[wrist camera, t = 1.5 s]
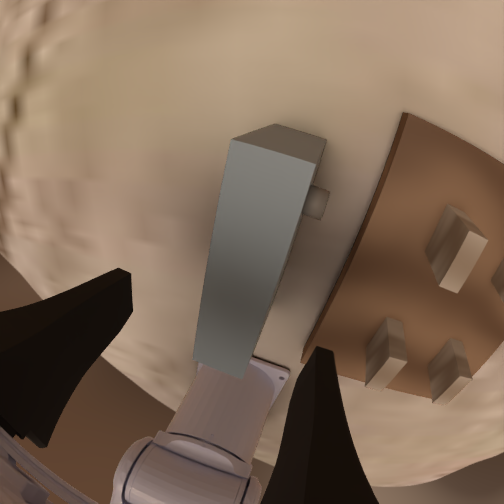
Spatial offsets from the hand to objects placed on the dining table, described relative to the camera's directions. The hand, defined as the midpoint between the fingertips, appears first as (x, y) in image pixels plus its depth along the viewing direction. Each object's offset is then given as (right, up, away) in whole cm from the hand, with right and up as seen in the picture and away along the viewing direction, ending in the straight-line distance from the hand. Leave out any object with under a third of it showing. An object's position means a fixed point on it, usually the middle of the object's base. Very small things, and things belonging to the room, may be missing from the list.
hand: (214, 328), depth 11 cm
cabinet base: (+14, 0, +6) cm, 15 cm away
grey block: (+3, +4, +8) cm, 10 cm away
